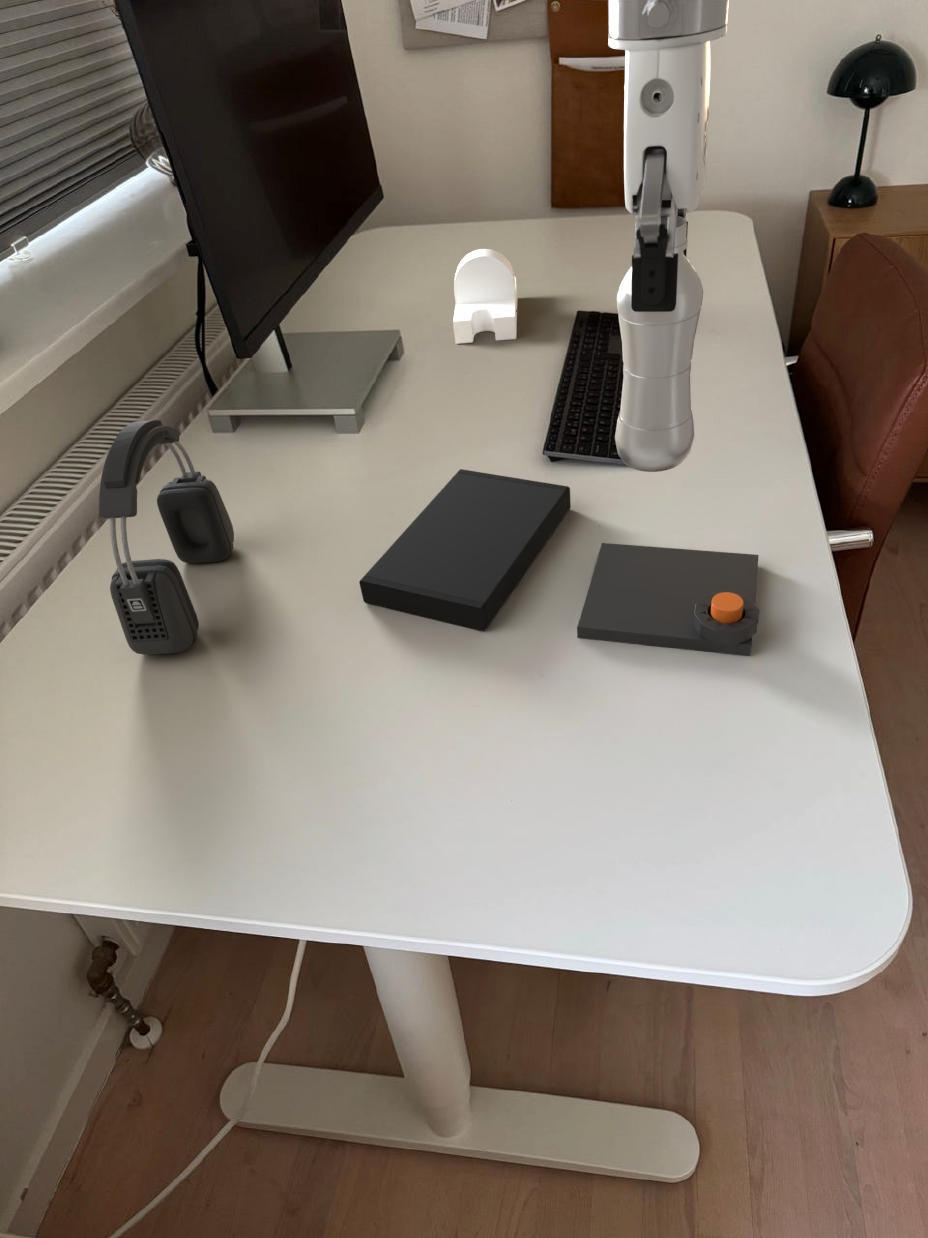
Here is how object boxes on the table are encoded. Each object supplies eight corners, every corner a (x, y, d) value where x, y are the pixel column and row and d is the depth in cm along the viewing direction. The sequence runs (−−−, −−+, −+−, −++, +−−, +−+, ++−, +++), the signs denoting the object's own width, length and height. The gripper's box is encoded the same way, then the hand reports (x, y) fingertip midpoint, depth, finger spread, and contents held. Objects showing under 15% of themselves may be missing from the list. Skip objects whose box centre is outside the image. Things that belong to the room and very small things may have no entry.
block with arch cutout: (516, 339, 142) (511, 268, 135) (455, 343, 143) (447, 274, 136) (517, 297, 156) (512, 231, 149) (461, 302, 157) (454, 237, 150)
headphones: (190, 663, 89) (120, 492, 77) (130, 666, 90) (50, 498, 77) (241, 536, 106) (190, 379, 94) (190, 540, 107) (133, 384, 94)
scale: (760, 565, 91) (763, 541, 89) (754, 659, 81) (757, 634, 79) (601, 553, 96) (601, 530, 94) (576, 640, 86) (575, 616, 84)
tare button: (742, 606, 83) (744, 593, 82) (741, 625, 81) (742, 612, 80) (711, 603, 84) (712, 590, 83) (709, 622, 82) (710, 609, 81)
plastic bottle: (602, 454, 80) (599, 220, 67) (671, 436, 81) (681, 203, 68) (634, 489, 75) (637, 243, 62) (707, 469, 76) (725, 224, 63)
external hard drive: (363, 602, 94) (358, 580, 92) (461, 489, 109) (459, 468, 107) (485, 632, 88) (482, 608, 86) (570, 508, 103) (570, 486, 101)
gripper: (718, 28, 50) (699, 338, 61) (736, -11, 62) (717, 252, 74) (585, 40, 52) (591, 338, 63) (627, 0, 64) (626, 254, 76)
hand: (659, 289), depth 68 cm, fingers closed on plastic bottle, 6 cm apart
